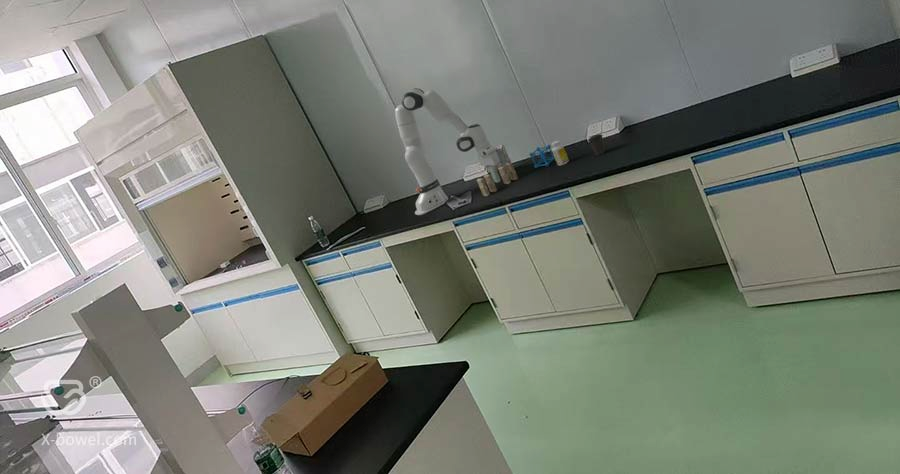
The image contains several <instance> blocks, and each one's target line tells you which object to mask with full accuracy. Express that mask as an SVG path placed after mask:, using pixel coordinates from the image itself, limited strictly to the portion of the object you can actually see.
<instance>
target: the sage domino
mask: <svg viewBox="0 0 900 474" xmlns="http://www.w3.org/2000/svg"><path fill="white" fill-rule="evenodd" d="M488 169H489V171H490V172H489V171H488V172H489V173H490V175H491V177H492V179H493V182H494V183H500V182H501V181H502V179H501V178H500V177H501V176H500V175H499V173H498V171H497V172H494V171H493V167H492V166H489V167H488ZM488 169H487V170H488Z"/></svg>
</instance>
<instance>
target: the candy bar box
mask: <svg viewBox="0 0 900 474" xmlns="http://www.w3.org/2000/svg"><path fill="white" fill-rule="evenodd" d="M495 149H496V151H495V152H496V153H497V155H498V157H499V160H500V163H499V164H500V167H505V169H506V166H505V164H506V163H512V161H511V159H510V157H509V155H508V151H507V150H506V147H505V145H504V143H502V144H500V145H497V146H496V147H495ZM506 171H507V169H506ZM507 173H508V171H507ZM508 175H509V173H508Z"/></svg>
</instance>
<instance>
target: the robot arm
mask: <svg viewBox="0 0 900 474" xmlns="http://www.w3.org/2000/svg"><path fill="white" fill-rule="evenodd" d="M422 107H423V108H425V109H426V110H427V111H428V113H429V114H430V115H431V116H432V118H434V119H435V120H436V121H437V122H438V123H446V124H449V125H451V126H452V127H453V129H455V131H456V132H457V133H458V134H459V135H460V136H459V137H458V138H457V140H456V148H457V149H458V150H459V151H460V152H463V153H466V152H469V151H470V150H472V149H475V152H476V154H477V155H476V158H477V160H478V163H479V165H480V166H485V168H486V169H487V170H488V172H489V173H490V171H489V169H488V167H489V166H492V167H493V171H494V172H497V173H498V167H497V166H498V165H499V164H500V160H499V157H498V155H497V153H496V152H495V151H496V147H495V146H493V145H491V143H490V142H489V140H488V137H487V134H486V132H485V130H484V128H483V126H481V125H480V124H478V123H476V124H471V125H469V126H468V125H466V124H465V122H464V121H463V120H462V119H461V118H460V116H458V115H457V114H456V113H455V112H454V110H452V108H451V107H450V106H449V104H448V103H447V102H446V100H444V98H442V96H441V95H440V94H438V92H437V91H435V90H434V89H431V90H427V91H425V92H424V90H422V89H420V88H412V89H410V90H407V92H406V93H404V95H403V96H402V99H401V104H398V105H397V106H396V107H395V109H394V112H395V113H394V115H395V120H396V125H397V128H398V133H399V136H400V139H401V141H402V143H403V145H404V148H405V153H404V158H405V159H404V160H405V161H406V164H407V165H408V167H409V168H410V170H411V171H412V173H413V175H414V177H415V178H416V180H417V183H418V185H419V187H417V188H415V191H416V192H418V193H419V195H418V198H417V199H416V201H415V208H416V210H415V211H414V215H417V216H422V215H425V214H427V213H428V212H431V211H433V210H435V209H436V208H439V207H441V206H442V205H444V204H446V202H447V201H448V200H449V197H448V196H447V195H446V194H445V192H444V190H443V189H442V186H441V184H440V181H439V180H438V178H437V177H436V174H435V173H434V171H433V168H432V167H431V165H430V164H429V162H428V160H427V159H426V157H425V155H426V150H425V147H424V144H423V141H422V138H421V136H420V132H419V129H418V125H417V121H416V117H415V113H414V112H415V111H416V110H418V109H420V108H422Z"/></svg>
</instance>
